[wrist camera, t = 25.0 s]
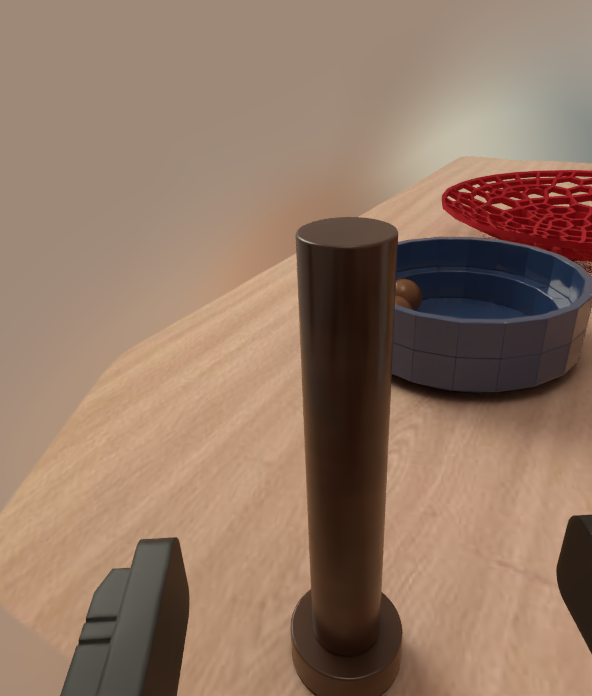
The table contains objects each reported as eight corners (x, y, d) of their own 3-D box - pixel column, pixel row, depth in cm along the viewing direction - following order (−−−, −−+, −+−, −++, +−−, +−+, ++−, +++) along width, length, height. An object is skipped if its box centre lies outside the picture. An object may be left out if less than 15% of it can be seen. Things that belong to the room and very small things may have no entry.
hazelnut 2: (379, 344, 42) (371, 307, 43) (419, 335, 41) (410, 298, 42) (374, 335, 39) (366, 295, 40) (417, 324, 38) (407, 285, 39)
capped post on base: (278, 690, 20) (236, 254, 12) (307, 594, 23) (288, 206, 15) (393, 719, 18) (427, 264, 11) (405, 615, 22) (438, 210, 14)
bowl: (400, 275, 54) (402, 224, 51) (473, 202, 76) (477, 164, 74) (785, 331, 41) (813, 266, 38) (736, 223, 63) (752, 178, 61)
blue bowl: (341, 397, 36) (341, 319, 33) (354, 296, 50) (354, 236, 47) (612, 408, 33) (635, 326, 31) (545, 299, 47) (557, 236, 45)
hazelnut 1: (370, 302, 43) (398, 279, 41) (381, 288, 45) (408, 265, 43) (397, 330, 43) (425, 309, 41) (406, 314, 45) (434, 293, 44)
